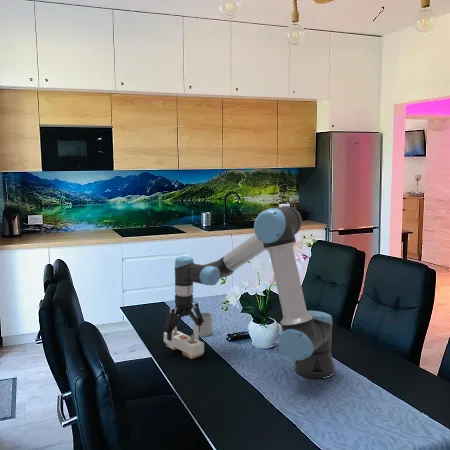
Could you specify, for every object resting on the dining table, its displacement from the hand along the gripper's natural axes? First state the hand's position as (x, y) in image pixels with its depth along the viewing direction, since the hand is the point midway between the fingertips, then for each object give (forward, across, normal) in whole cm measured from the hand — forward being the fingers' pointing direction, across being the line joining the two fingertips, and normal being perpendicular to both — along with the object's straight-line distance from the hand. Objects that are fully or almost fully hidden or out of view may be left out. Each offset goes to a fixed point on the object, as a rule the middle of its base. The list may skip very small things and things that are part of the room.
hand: (183, 343), depth 206 cm
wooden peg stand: (+3, 0, 0) cm, 3 cm away
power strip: (+2, 0, 0) cm, 2 cm away
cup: (+3, -20, -11) cm, 23 cm away
